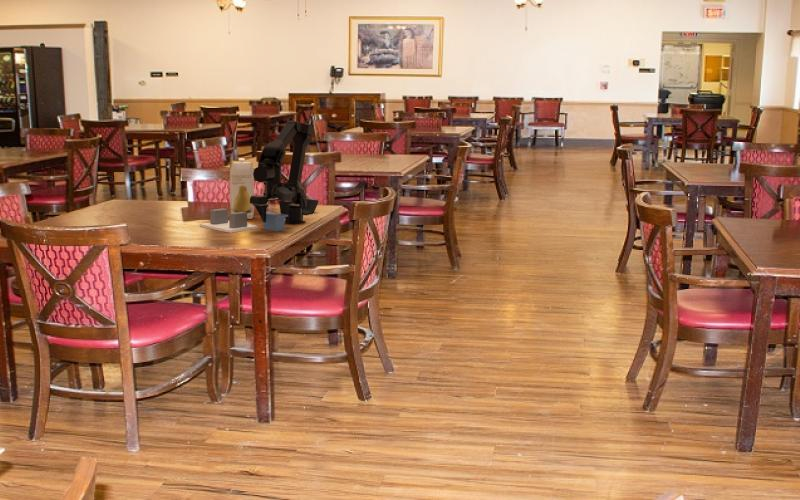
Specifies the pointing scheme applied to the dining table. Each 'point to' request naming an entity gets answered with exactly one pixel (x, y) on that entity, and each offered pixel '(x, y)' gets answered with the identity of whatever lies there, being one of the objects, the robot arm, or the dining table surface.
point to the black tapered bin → (310, 207)
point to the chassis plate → (228, 221)
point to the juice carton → (241, 187)
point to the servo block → (274, 221)
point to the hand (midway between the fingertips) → (273, 221)
